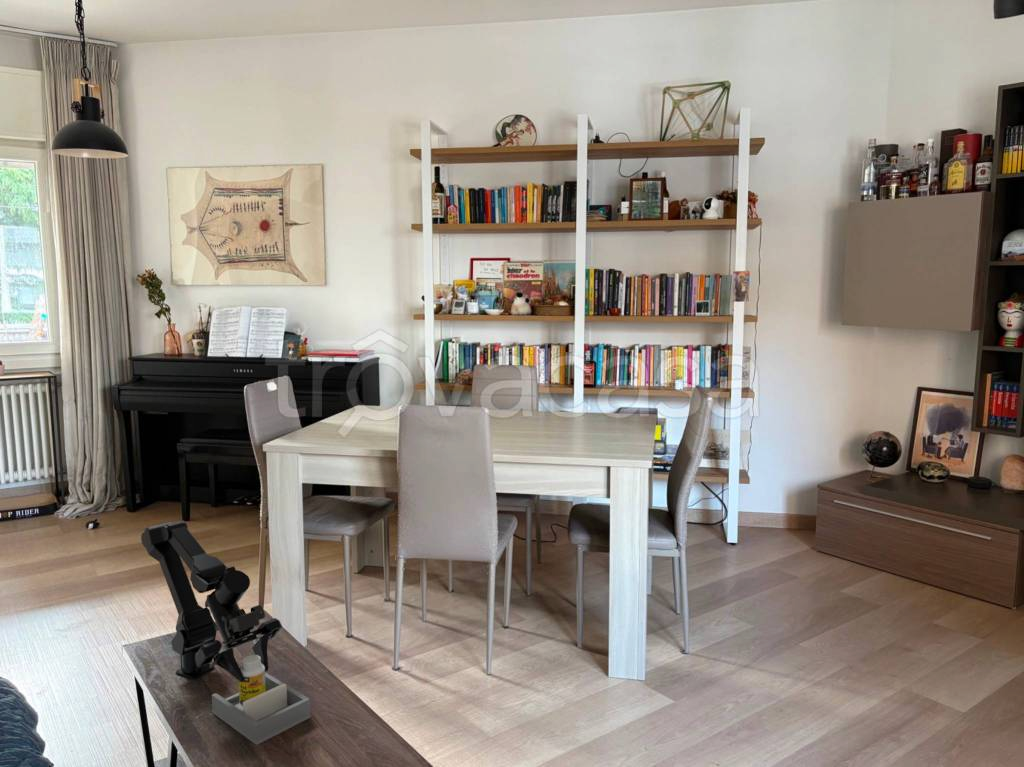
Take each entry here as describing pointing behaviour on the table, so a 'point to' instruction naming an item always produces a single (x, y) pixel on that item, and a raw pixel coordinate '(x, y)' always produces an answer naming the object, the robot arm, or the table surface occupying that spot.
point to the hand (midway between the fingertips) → (255, 676)
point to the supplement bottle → (251, 678)
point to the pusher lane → (267, 725)
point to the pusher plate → (266, 702)
